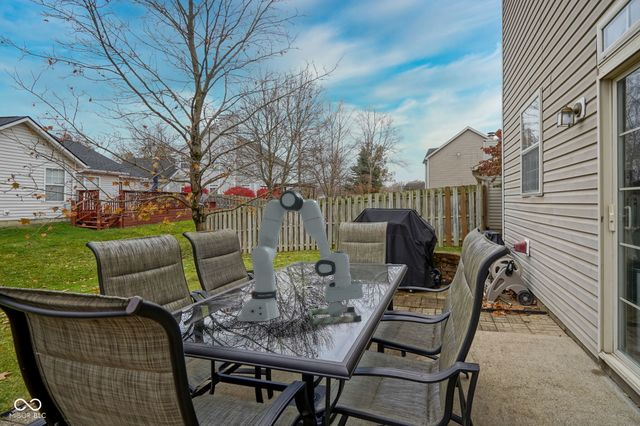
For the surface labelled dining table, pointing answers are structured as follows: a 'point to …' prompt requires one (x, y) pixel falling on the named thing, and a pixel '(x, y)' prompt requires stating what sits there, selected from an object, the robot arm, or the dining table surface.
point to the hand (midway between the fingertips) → (344, 308)
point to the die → (335, 309)
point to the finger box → (334, 319)
